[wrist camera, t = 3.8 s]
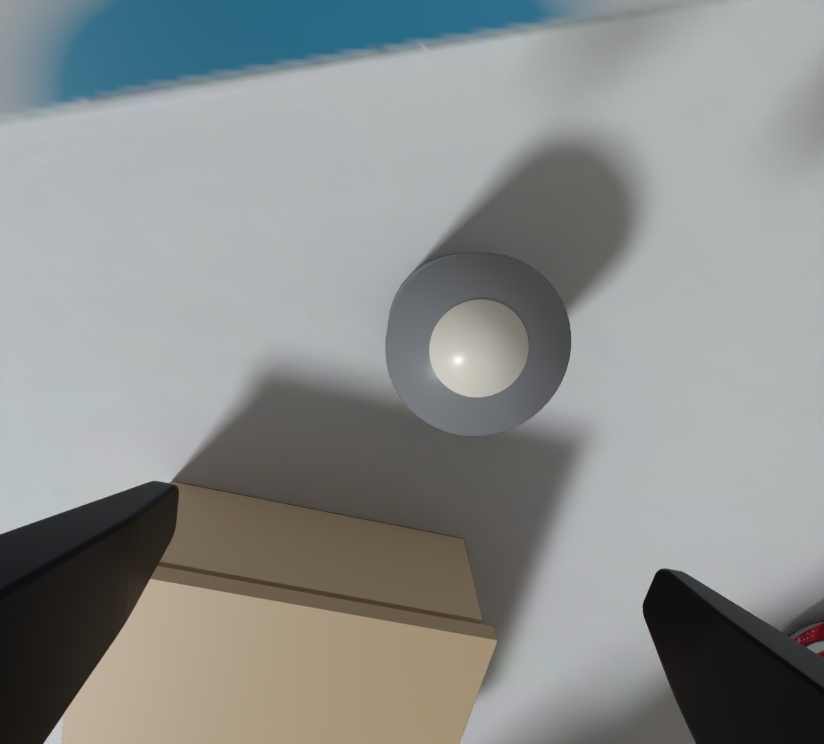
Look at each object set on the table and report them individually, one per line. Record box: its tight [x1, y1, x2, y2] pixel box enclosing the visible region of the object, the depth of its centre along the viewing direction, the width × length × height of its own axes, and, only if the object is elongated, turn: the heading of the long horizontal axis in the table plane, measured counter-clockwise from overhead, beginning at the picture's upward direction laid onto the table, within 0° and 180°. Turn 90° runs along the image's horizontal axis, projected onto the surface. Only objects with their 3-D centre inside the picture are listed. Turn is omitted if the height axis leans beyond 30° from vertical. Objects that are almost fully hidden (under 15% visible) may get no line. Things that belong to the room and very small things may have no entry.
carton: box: [158, 481, 483, 624], centre depth 20 cm, size 14×14×5 cm
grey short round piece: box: [386, 253, 571, 436], centre depth 17 cm, size 6×6×5 cm
